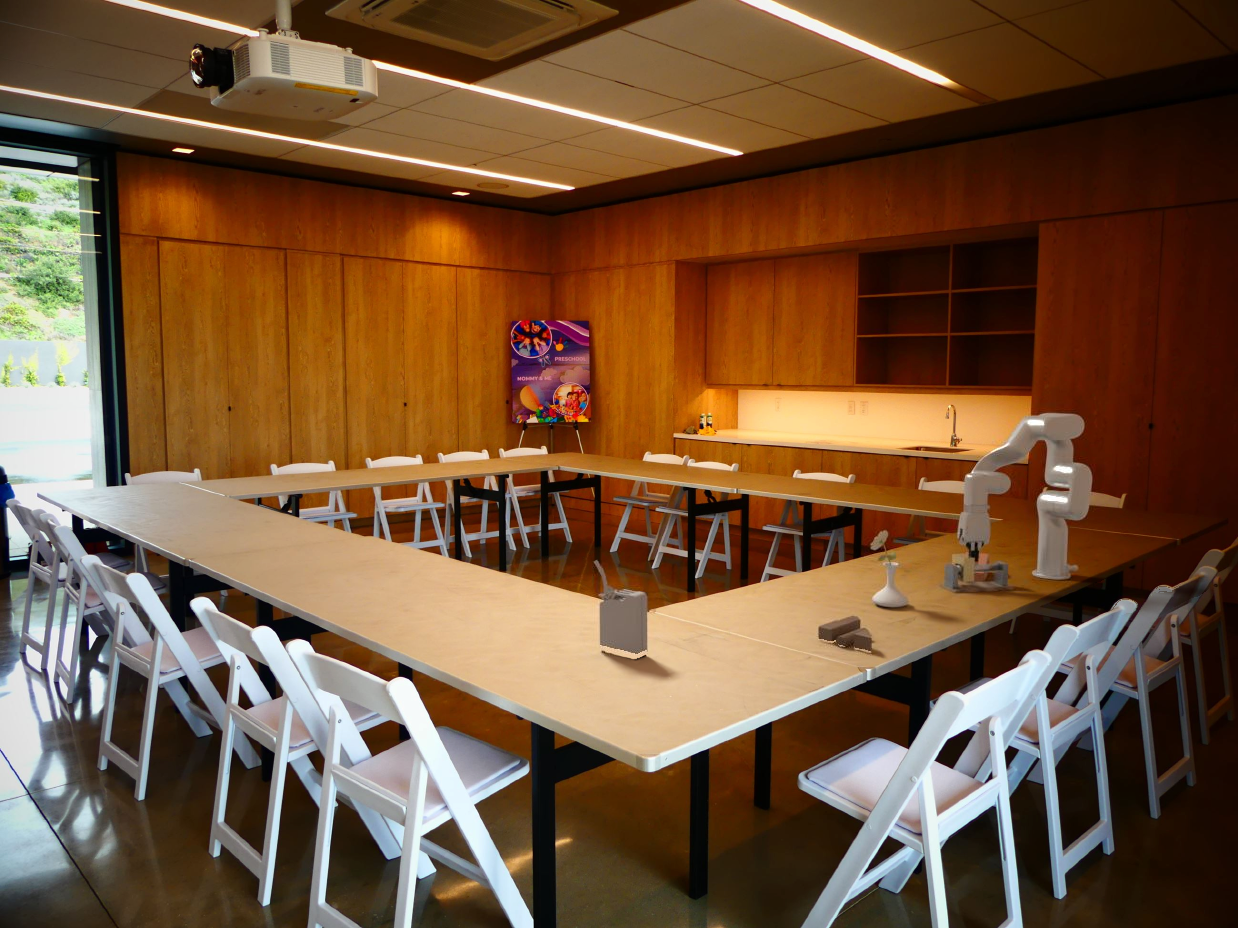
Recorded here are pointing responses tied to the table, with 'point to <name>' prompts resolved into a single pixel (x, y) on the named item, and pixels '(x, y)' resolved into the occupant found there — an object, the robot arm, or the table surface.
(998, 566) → the pipe rail
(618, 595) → the jerry can
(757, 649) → the table surface
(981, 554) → the crank
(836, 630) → the wooden block set
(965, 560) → the collar
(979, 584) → the base board
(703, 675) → the table surface
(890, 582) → the flower in vase
